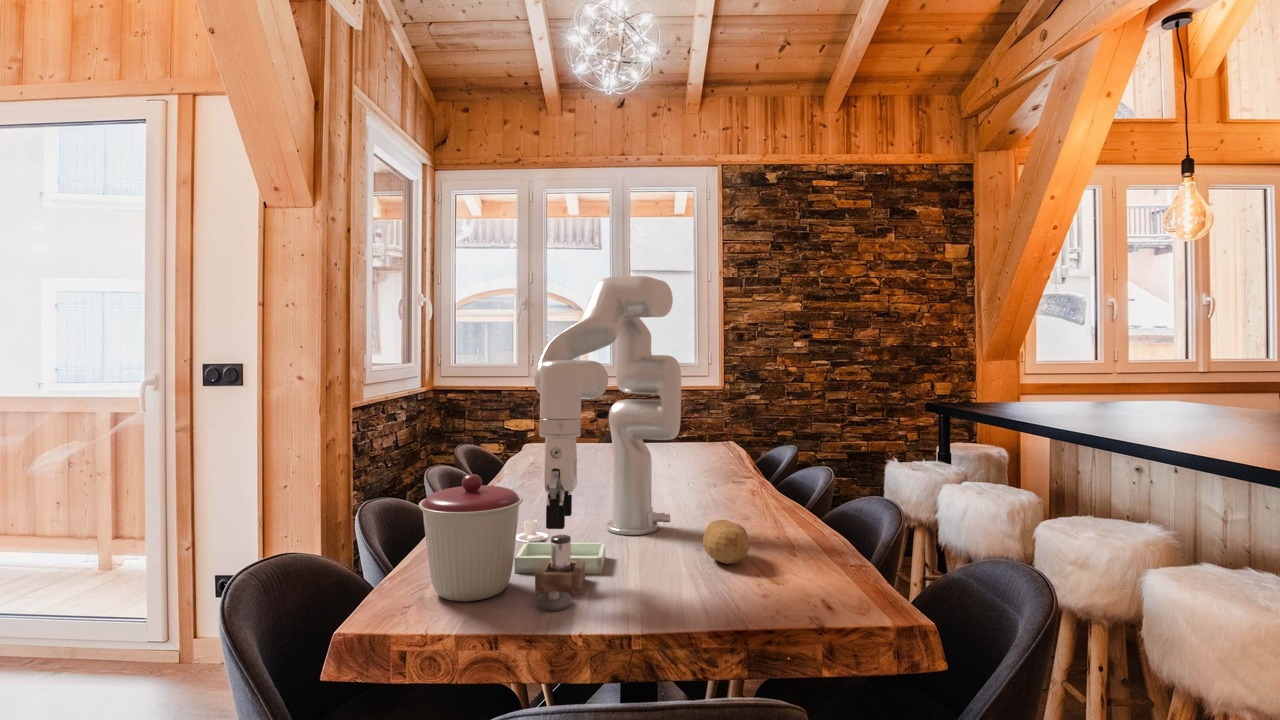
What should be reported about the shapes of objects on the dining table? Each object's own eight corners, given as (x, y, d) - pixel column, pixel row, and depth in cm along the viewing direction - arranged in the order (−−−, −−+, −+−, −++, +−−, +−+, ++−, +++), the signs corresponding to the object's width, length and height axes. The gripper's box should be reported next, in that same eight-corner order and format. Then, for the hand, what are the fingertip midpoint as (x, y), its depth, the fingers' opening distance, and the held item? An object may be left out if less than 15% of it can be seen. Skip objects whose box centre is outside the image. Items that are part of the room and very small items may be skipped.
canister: (444, 572, 124) (444, 464, 124) (534, 575, 122) (534, 466, 122) (399, 609, 106) (399, 483, 106) (504, 614, 104) (504, 486, 104)
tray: (605, 557, 134) (605, 542, 134) (601, 573, 124) (601, 558, 124) (524, 556, 134) (524, 542, 134) (514, 572, 124) (514, 557, 124)
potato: (739, 549, 139) (739, 513, 139) (758, 571, 125) (758, 531, 125) (695, 551, 138) (695, 514, 138) (710, 573, 124) (710, 532, 124)
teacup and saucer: (544, 545, 144) (544, 527, 144) (509, 545, 144) (509, 527, 144) (550, 534, 152) (550, 517, 152) (517, 534, 152) (517, 517, 152)
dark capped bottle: (571, 583, 119) (571, 534, 119) (569, 590, 115) (569, 540, 115) (552, 582, 119) (552, 534, 119) (549, 590, 115) (549, 540, 115)
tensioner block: (584, 578, 121) (584, 560, 121) (575, 611, 105) (575, 590, 105) (542, 578, 121) (542, 560, 121) (526, 611, 105) (526, 590, 105)
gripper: (575, 433, 108) (574, 534, 107) (585, 424, 125) (584, 511, 125) (531, 432, 108) (529, 533, 108) (547, 424, 125) (546, 511, 125)
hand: (559, 521), depth 116 cm, fingers open, 9 cm apart
